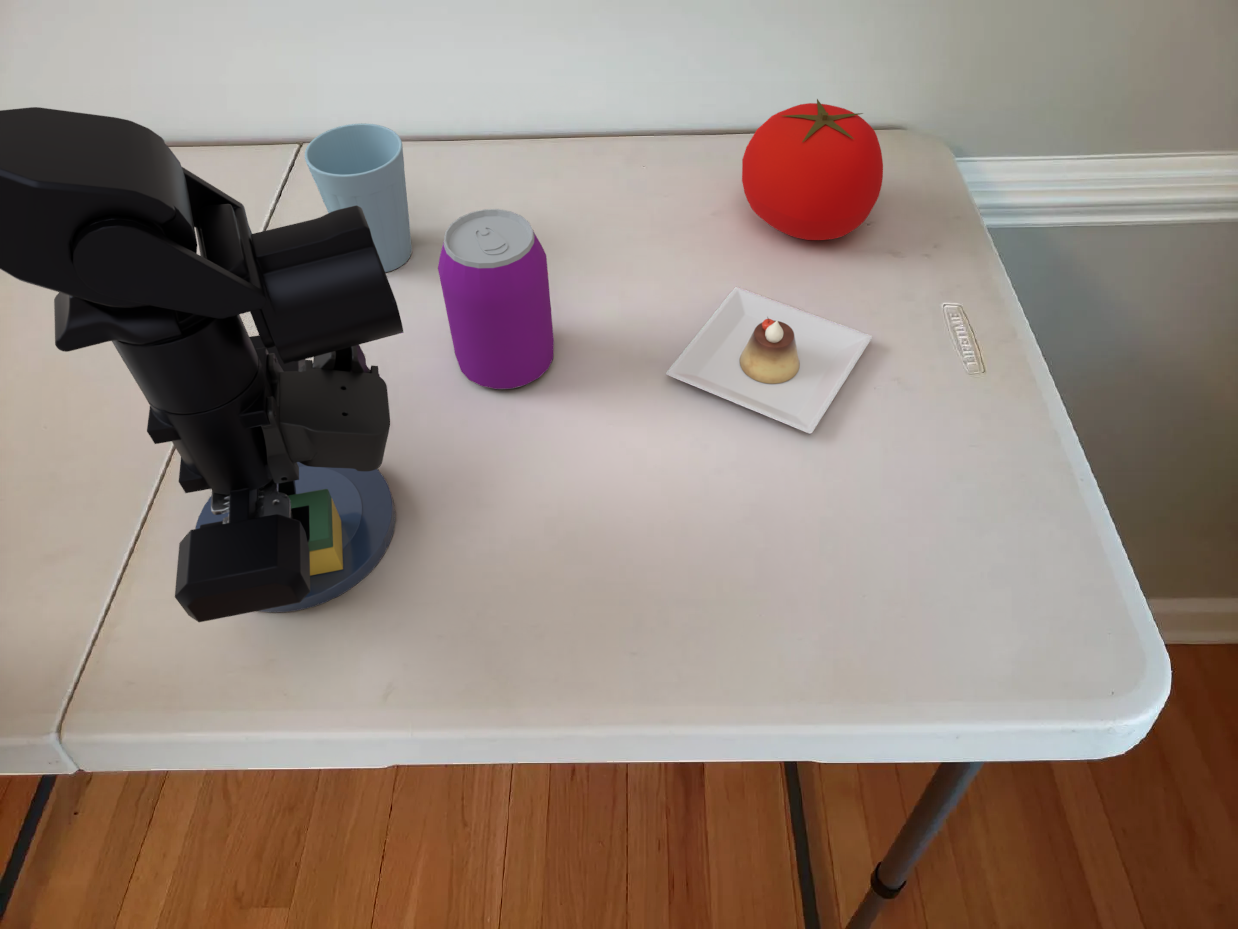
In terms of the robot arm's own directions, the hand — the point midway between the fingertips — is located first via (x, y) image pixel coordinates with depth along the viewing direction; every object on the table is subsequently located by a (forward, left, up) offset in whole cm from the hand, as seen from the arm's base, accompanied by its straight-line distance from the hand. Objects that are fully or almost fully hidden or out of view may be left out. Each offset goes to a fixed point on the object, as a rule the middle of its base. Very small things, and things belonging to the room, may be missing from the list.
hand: (290, 545), depth 59 cm
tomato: (+45, +28, -2) cm, 53 cm away
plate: (0, +3, -2) cm, 4 cm away
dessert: (+36, +11, -2) cm, 38 cm away
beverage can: (+16, +16, -2) cm, 23 cm away
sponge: (0, 0, -1) cm, 1 cm away
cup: (+7, +32, -2) cm, 33 cm away
